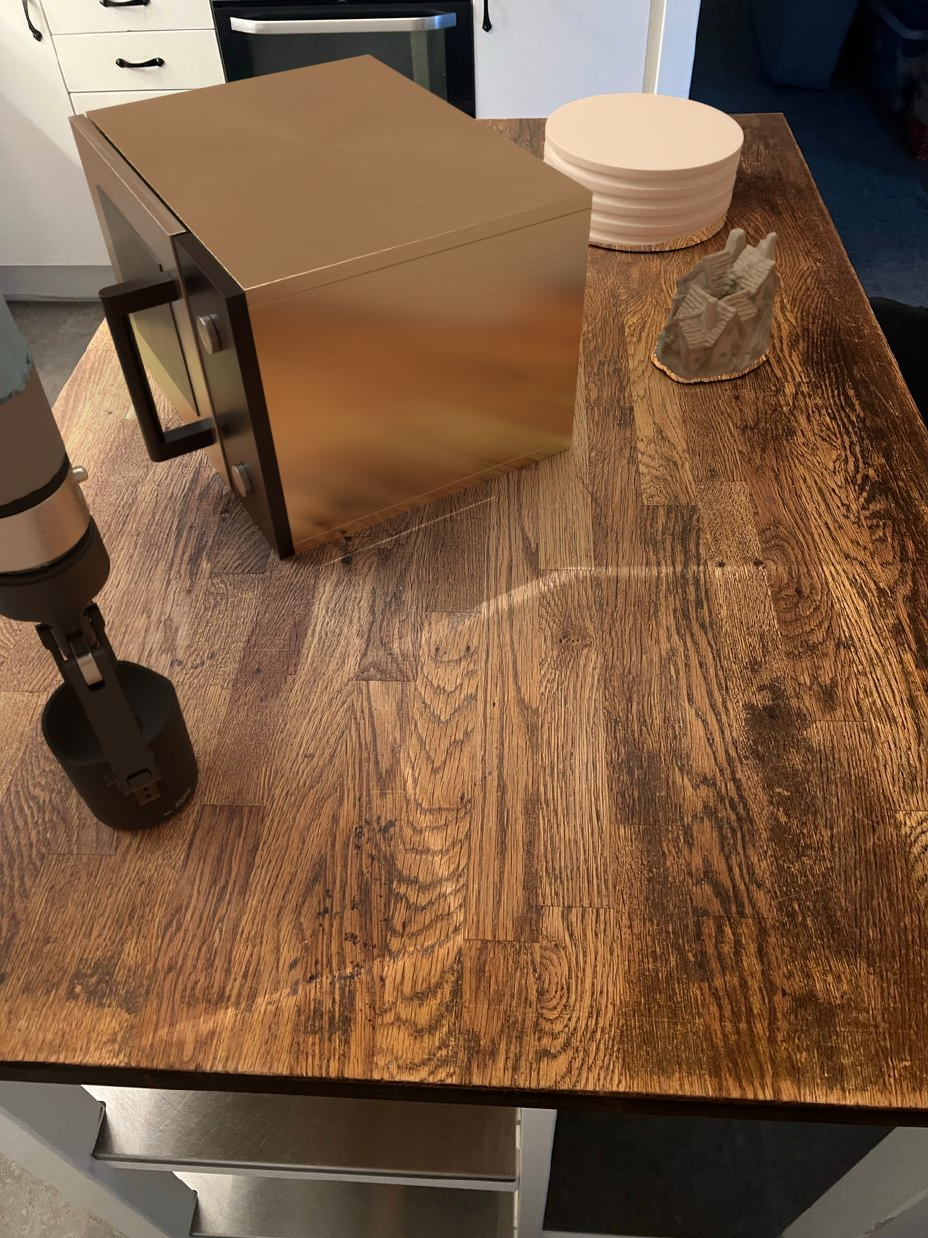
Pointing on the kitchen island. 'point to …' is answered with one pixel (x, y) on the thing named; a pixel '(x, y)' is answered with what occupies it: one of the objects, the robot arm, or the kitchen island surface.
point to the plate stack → (646, 163)
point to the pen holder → (88, 761)
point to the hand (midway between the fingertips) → (128, 746)
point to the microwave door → (149, 305)
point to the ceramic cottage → (721, 311)
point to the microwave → (365, 288)
